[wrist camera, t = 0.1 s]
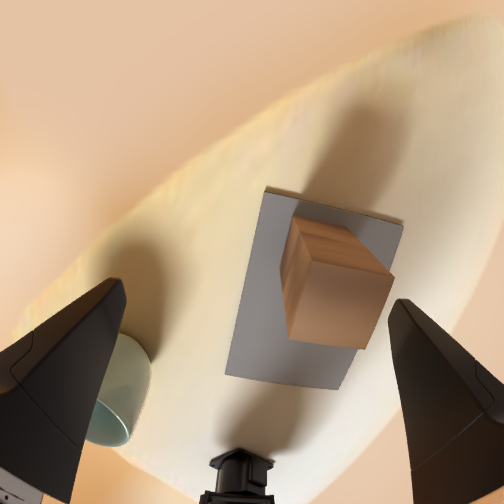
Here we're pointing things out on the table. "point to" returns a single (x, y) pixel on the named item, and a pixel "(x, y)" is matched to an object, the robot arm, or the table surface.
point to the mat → (272, 304)
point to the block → (331, 285)
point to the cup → (121, 395)
